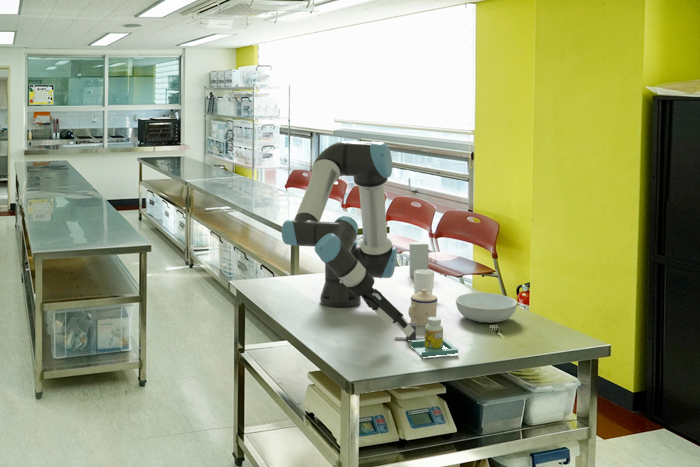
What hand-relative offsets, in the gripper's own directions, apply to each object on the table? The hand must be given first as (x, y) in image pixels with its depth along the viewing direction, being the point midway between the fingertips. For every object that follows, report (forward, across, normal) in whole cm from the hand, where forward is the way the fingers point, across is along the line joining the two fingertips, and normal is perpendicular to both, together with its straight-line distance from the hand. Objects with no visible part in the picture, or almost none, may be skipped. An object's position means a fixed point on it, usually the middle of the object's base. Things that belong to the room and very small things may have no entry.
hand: (400, 328), depth 212 cm
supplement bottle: (+12, +2, +3) cm, 12 cm away
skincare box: (+36, -88, +36) cm, 102 cm away
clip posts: (+13, -9, +4) cm, 16 cm away
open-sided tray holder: (+12, +2, +2) cm, 13 cm away
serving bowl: (+34, -22, +28) cm, 49 cm away
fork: (+30, -1, +22) cm, 38 cm away
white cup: (+28, -56, +24) cm, 67 cm away
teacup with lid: (+18, -25, +10) cm, 32 cm away
